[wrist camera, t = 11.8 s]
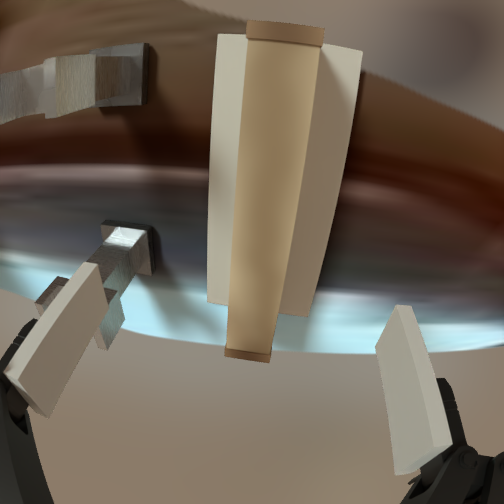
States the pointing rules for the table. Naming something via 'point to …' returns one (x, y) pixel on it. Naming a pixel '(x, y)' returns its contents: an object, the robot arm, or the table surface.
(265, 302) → the rail
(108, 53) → the post near
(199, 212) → the table surface
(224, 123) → the mat
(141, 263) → the post far
